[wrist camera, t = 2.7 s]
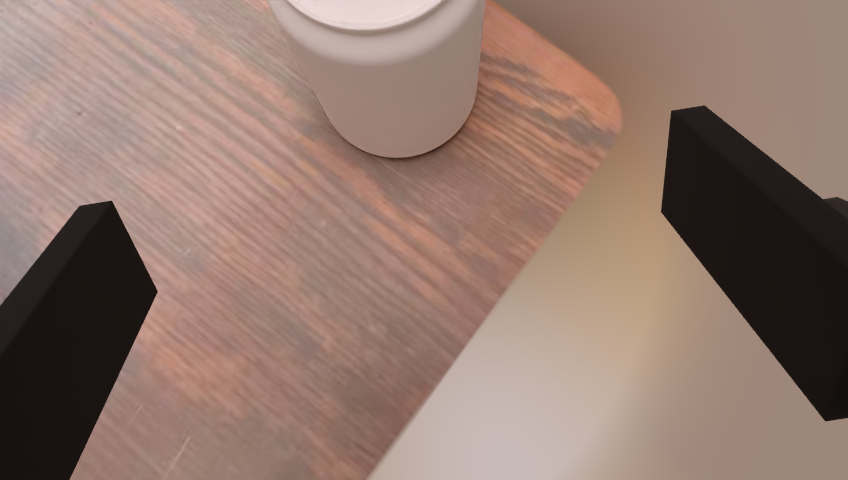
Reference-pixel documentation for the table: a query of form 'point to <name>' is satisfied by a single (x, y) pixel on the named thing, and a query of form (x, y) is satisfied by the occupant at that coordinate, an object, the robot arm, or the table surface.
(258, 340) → the table surface
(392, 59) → the beverage can
